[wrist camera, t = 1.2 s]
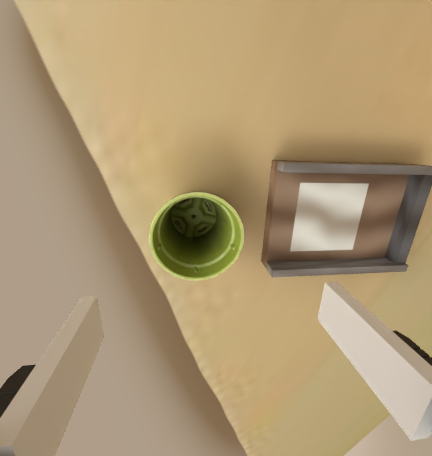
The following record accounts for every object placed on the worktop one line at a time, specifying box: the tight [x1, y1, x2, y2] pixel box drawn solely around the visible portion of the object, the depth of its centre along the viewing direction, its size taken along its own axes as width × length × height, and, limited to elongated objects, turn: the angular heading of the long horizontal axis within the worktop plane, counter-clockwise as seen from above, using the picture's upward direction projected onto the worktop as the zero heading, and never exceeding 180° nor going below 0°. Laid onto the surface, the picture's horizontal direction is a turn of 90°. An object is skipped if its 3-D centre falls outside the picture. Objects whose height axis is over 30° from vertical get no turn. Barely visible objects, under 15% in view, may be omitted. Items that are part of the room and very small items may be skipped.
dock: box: [261, 160, 432, 277], centre depth 32 cm, size 14×20×4 cm
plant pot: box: [149, 192, 244, 281], centre depth 27 cm, size 9×9×9 cm
